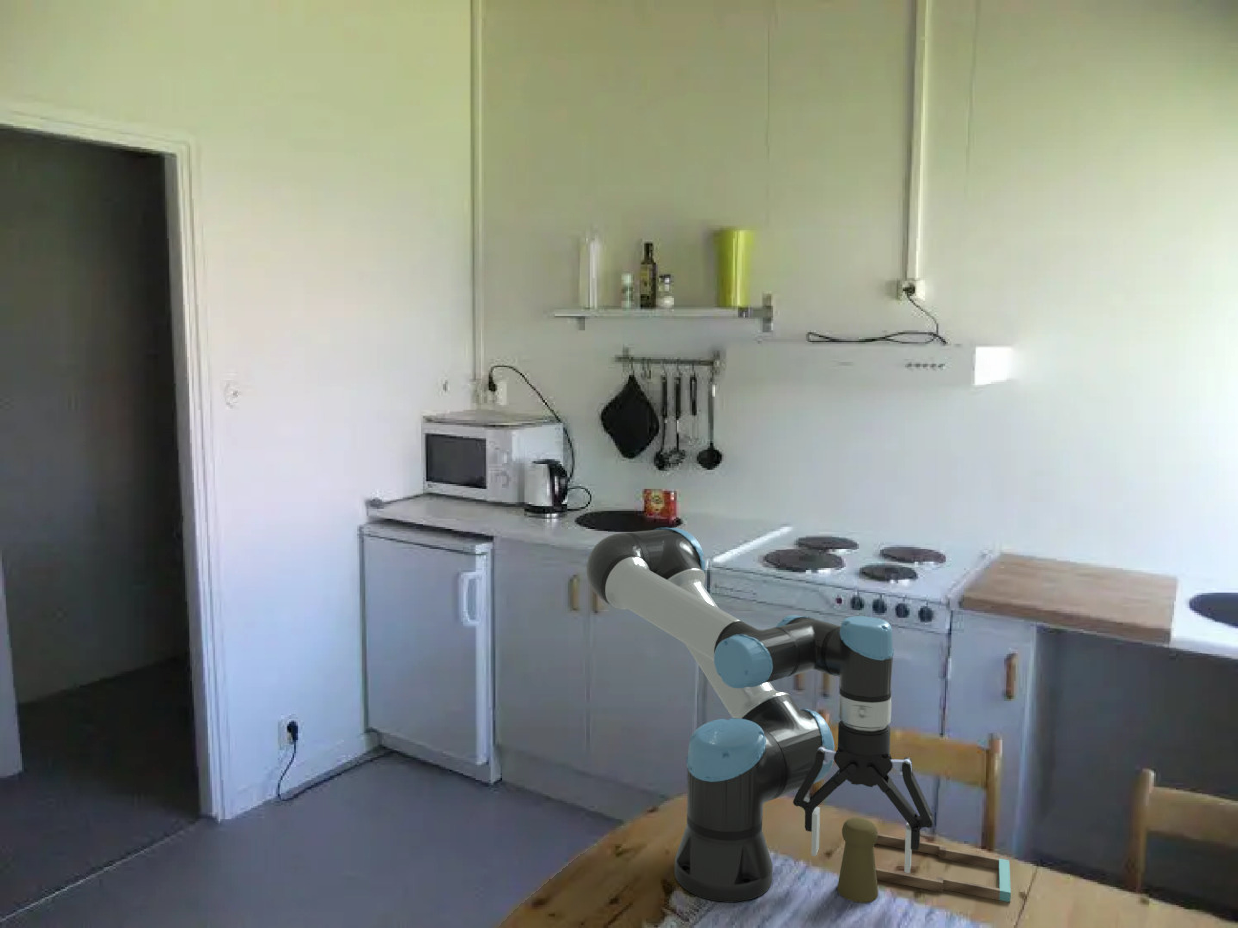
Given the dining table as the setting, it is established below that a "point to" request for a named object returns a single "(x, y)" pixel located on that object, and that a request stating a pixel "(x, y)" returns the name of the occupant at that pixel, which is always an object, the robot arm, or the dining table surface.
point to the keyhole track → (944, 883)
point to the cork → (858, 861)
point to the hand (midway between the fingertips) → (860, 860)
